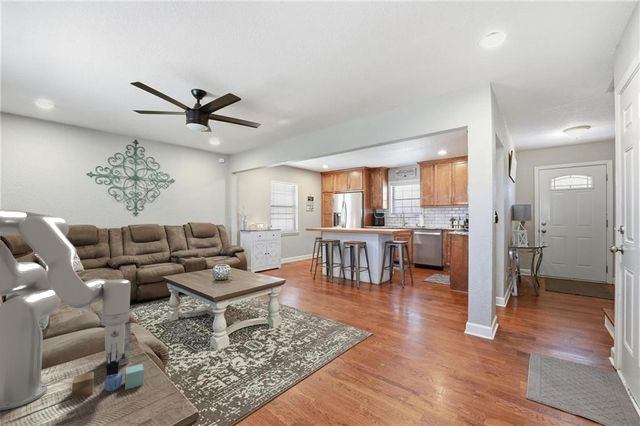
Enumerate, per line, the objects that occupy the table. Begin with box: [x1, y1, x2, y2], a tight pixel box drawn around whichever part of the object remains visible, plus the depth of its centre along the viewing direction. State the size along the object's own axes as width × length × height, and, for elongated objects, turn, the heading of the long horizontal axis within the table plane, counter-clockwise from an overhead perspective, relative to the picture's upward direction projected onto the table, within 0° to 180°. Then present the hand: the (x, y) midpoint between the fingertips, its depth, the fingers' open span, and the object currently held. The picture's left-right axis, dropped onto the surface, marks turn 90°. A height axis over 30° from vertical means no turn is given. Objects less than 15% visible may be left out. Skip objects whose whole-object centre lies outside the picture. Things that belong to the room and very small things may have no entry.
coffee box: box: [105, 320, 132, 367], centre depth 111 cm, size 9×6×16 cm
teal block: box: [124, 363, 145, 390], centre depth 96 cm, size 5×5×5 cm
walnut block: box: [71, 371, 95, 401], centre depth 90 cm, size 5×5×5 cm
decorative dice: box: [103, 371, 123, 392], centre depth 93 cm, size 4×4×4 cm
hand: (112, 373), depth 93 cm, fingers closed
